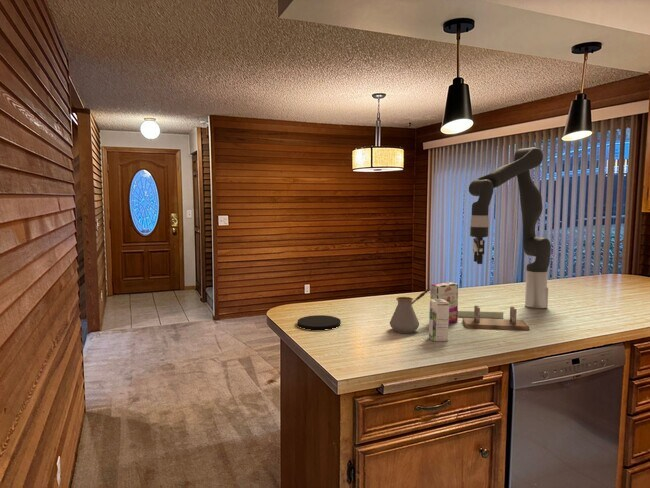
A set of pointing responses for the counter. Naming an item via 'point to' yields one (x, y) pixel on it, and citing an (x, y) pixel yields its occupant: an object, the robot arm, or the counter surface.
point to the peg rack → (495, 321)
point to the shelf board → (483, 313)
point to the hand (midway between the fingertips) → (478, 262)
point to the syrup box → (438, 320)
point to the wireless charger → (319, 322)
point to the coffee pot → (405, 315)
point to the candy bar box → (447, 297)
